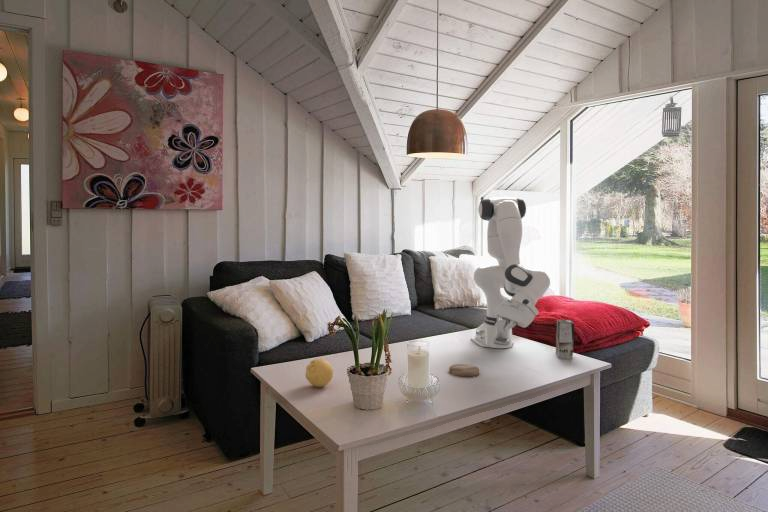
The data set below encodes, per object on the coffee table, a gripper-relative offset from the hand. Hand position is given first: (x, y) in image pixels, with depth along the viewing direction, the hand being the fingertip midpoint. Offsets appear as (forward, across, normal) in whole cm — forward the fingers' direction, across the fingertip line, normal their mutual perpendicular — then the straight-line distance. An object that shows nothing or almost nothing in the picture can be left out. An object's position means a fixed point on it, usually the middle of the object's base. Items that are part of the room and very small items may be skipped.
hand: (500, 328), depth 207 cm
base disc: (+23, -1, +1) cm, 23 cm away
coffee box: (-16, -7, +41) cm, 45 cm away
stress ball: (+65, -4, -40) cm, 77 cm away
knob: (+4, 0, +5) cm, 6 cm away
